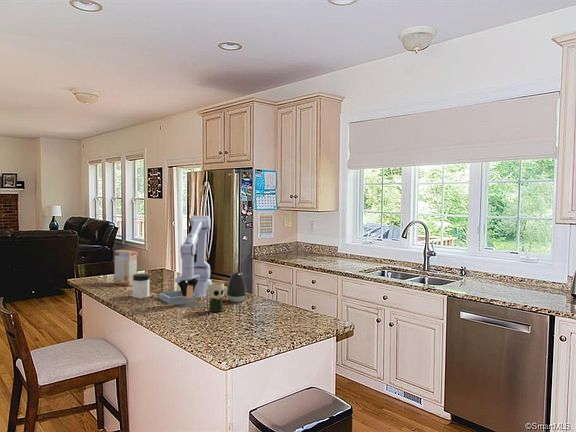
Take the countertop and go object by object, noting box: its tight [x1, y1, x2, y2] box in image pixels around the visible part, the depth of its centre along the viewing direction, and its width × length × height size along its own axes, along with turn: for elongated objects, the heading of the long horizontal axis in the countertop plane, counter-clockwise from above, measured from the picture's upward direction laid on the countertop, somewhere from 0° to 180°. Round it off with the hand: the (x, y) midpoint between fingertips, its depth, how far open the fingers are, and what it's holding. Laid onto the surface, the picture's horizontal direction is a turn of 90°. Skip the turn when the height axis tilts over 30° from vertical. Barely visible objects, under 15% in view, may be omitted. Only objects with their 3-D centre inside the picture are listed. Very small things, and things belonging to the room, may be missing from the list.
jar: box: [131, 273, 151, 299], centre depth 229 cm, size 9×8×12 cm
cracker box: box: [114, 249, 138, 287], centre depth 261 cm, size 14×6×21 cm, turn 58°
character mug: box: [205, 282, 228, 313], centre depth 203 cm, size 11×7×13 cm, turn 127°
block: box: [181, 285, 194, 299], centre depth 213 cm, size 4×4×6 cm
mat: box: [172, 301, 203, 310], centre depth 213 cm, size 12×10×1 cm
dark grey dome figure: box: [226, 271, 247, 303], centre depth 224 cm, size 10×10×15 cm
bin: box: [158, 289, 197, 305], centre depth 223 cm, size 14×14×4 cm
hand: (187, 295), depth 213 cm, fingers closed on block, 4 cm apart
